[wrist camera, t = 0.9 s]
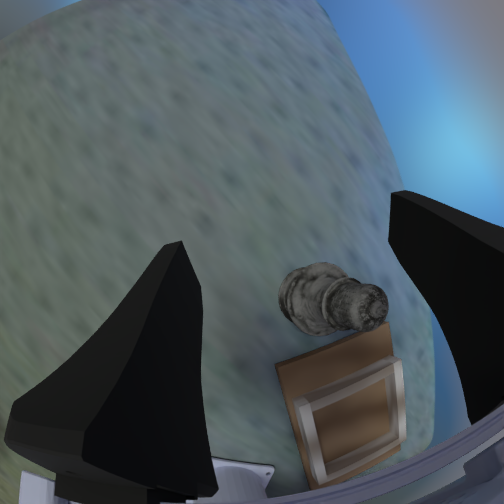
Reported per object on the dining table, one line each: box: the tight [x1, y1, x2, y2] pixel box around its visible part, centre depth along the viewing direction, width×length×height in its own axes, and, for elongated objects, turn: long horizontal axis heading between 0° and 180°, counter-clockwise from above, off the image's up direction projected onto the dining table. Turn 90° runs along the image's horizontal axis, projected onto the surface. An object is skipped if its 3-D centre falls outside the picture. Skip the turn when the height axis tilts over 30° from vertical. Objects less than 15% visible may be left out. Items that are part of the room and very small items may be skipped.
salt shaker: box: [278, 262, 388, 336], centre depth 20 cm, size 6×6×12 cm
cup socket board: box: [275, 321, 406, 491], centre depth 24 cm, size 18×12×3 cm, turn 15°
